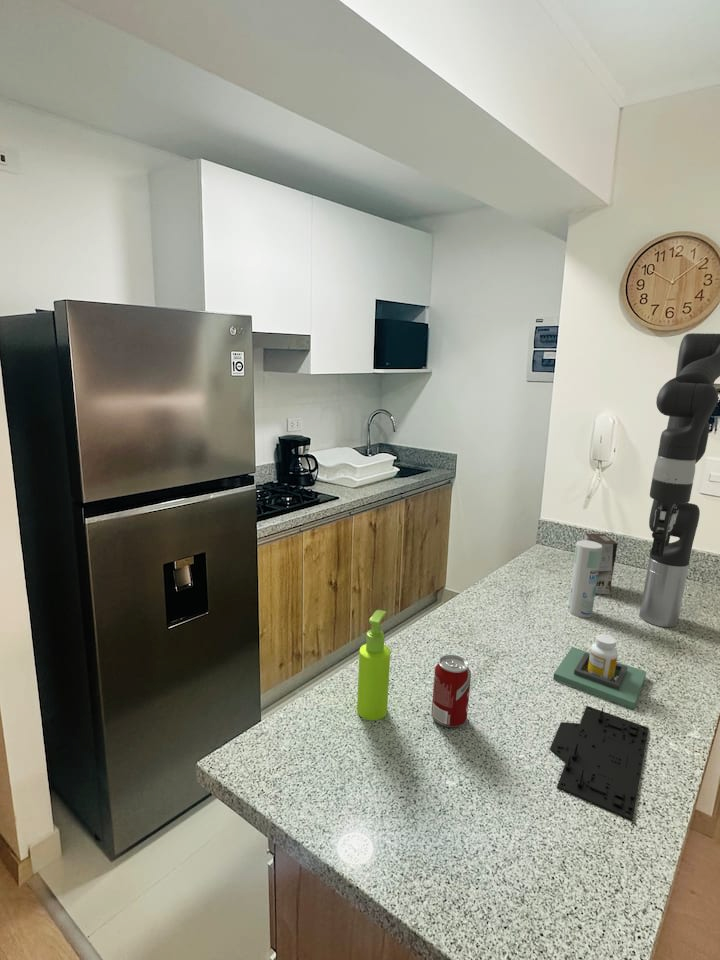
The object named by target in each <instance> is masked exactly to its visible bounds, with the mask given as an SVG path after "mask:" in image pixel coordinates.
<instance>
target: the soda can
mask: <svg viewBox="0 0 720 960" xmlns="http://www.w3.org/2000/svg"><path fill="white" fill-rule="evenodd" d="M471 678H472V671H471V670H470V667H469V662H468V661H467V659H465V658H464V657H461V656H459V655H454V654H446V655H443V656H441V657H439V660H438V663H437V664H436V665H435V667H434V676H433V689H432V700H431V701H432V702H431V716H432V719H433V720H434V721H435V722H436V723H438V724H440V725H441V726H444V727H449V728H457V727H460V726H463V725H465V724H466V722H467V720H468V710H469V702H470V701H469V699H470V691H471V690H470V689H471V682H472V681H471V680H472V679H471Z"/></svg>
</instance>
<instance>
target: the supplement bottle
mask: <svg viewBox="0 0 720 960" xmlns="http://www.w3.org/2000/svg"><path fill="white" fill-rule="evenodd" d="M616 644H617V640H616V638H614V637H613V636H611V635H607V634H602V633H600V634H598V635H596V637H595V641H594V643H593V644H592V645H591V646H590V650H589V653H590V657H589V663H588V666H587V669H586V672H588V673H591V674H594V675H597V676H600V677H602V678H605V679H608V680H611V681H615V680H614V679H615V675H614V674H615V668H616V662H618V650H617V648H616V646H617V645H616Z"/></svg>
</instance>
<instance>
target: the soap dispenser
mask: <svg viewBox="0 0 720 960" xmlns="http://www.w3.org/2000/svg"><path fill="white" fill-rule="evenodd" d="M387 613H388V611H387V610H381V609H377V610H375V611H374V613H373V614H372V616H371V617H370V618H369V622H368V623H369V624H371V628H370V629H369V630H368V631H367V632H366V638H365V639H366V643H364V644H362V645H361V646H360V648H359V650H358V651H359V653H358V672H357V673H358V675H357V679H358V680H357V700H356V703H357V704H356V712H357V714H358V716H359V717H361V718H362V719H364V720H367V721H379V720H382V719H384V718H385V717H386V715H388V714H387V713H388V701H389V698H388V697H389V681H390V665H391V664H390V663H391V649H390V648H389V647H388V645H386V644H385V632H384V631H382V630H381V625H382V624H381V622H382V620H383V619H384V617H385V616H386V615H387Z"/></svg>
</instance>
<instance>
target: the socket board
mask: <svg viewBox="0 0 720 960" xmlns="http://www.w3.org/2000/svg"><path fill="white" fill-rule="evenodd" d="M589 657H590V651H587V650H583V649H580V648H577V647H574V646H571V647H570V649H569V651H568V652H567V654H566V655H565V656H564V658H563V659H562V661H561V662H560V664H559V665H558V667H557V668H556V669H555V671H554V673H553V677H552V681H553V680H554V681H556V682H559V683H562V684H565V685H566V686H570V687H573V688H574V689H575V688H576V689H577V690H580V691H583V692H586V693H588V694H591V695H594V696H597V697H598V698H602V699H604V700H607V701H610V702H612V703H615V704H617V705H620V706H623V707H626V708H628V709H631V710H634V709H635V707H636V704H637V701H638V699H639V696H640V693H641V690H642V688H643V685H644V683H645V679H646V677H647V671H646V670H643V669H641V668H637V667H634V666H630V665H627V664H625V663H622V662H619V661H617V662H616V668H615V674H614V677H616V678H615V680H613V681H611V680H608V679H605V678H602V677H600V676H597V675H594V674H591V673H588V672H587V671H585V670H587V668H588V663H589Z"/></svg>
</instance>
